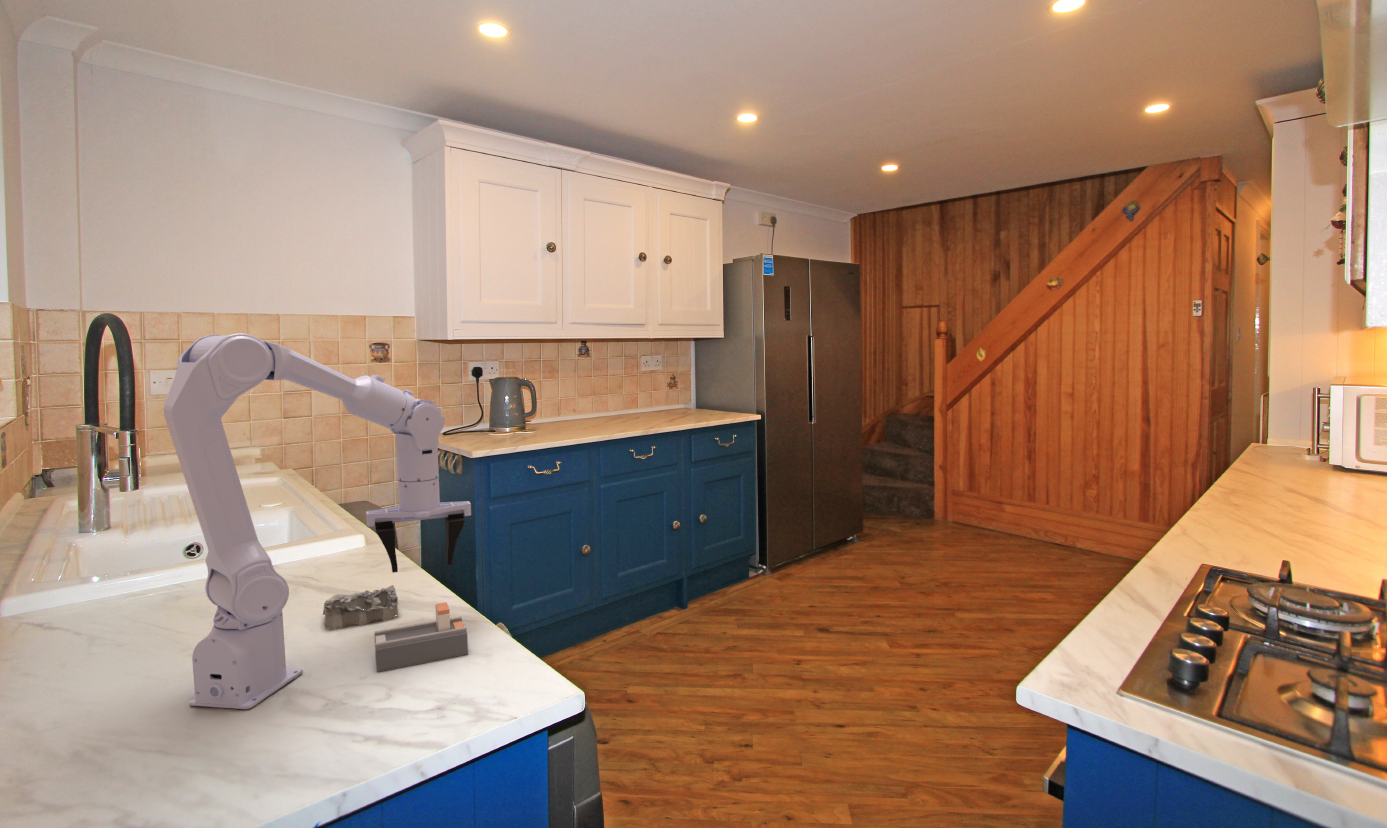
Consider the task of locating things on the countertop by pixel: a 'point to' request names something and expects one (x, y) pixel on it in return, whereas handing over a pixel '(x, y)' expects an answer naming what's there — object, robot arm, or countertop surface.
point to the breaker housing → (419, 644)
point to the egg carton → (360, 607)
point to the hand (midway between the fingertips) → (422, 566)
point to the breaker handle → (442, 616)
